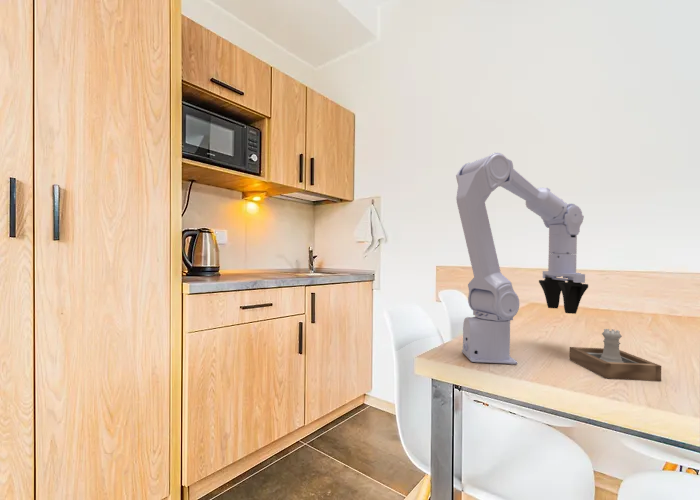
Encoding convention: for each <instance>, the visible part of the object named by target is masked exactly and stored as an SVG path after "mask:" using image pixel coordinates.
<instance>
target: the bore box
mask: <svg viewBox="0 0 700 500" xmlns="http://www.w3.org/2000/svg"><path fill="white" fill-rule="evenodd" d="M603 350H604V347H603V348H601V347H583V346H582V347H581V346H579V347H578V346H569V353H568V354H569V355H568V356H569V359H568V360H570V361H572V362H573V363H575V364H577V365H579V366H581V367H583V368H584V369H587V370H588V371H590V372H593V373H594V374H596V375H598V376H600V377H602V378H604V379H614V380H633V381H634V380H635V381H652V382H653V381H656V382H662V365H660V364H658V363H655V362H652V361H650V360H647V359H645V358H641V357H639V356H636V355H634V354H632V353H629V352H626V351H623V350H621V349H619V351H620V356H621V358H622V361H623V362H624V363H620V362H606V361H604V360H602V359H599V358H601V355H602V354H603Z"/></svg>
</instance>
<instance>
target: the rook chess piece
mask: <svg viewBox="0 0 700 500" xmlns="http://www.w3.org/2000/svg"><path fill="white" fill-rule="evenodd" d="M620 332H621V331H620V330H618V329H616V330H615V329H614V328H613V329H612V328H611V330H610V329H609V328H604V329H603V331H602V333H601V335H602V336H603V338H604V340H603V344H604V345H603V348H604V350H603V354H602V355H601V358H599V359H602V360H604V361H606V362H620V363H624V362H623V361H622V358H621V356H620V351H619V350H620V345H621V342H620V339H621V338H622V335H621V333H620Z"/></svg>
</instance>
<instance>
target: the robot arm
mask: <svg viewBox="0 0 700 500" xmlns="http://www.w3.org/2000/svg"><path fill="white" fill-rule="evenodd" d="M455 177H456V178H455V179H456V182H457V191H456V197H455V199H456V204H457V209H458V213H459V217H460V222H461V226H462V230H463V235H464V240H465V244H466V247H467V248H466V249H467V252H468V255H469V260H470V265H471V269H472V273H473V278H472V279H471V280H470V281H469V282H468V283H467V287H468V296H467V303H468V306H469V308H470V309H471V311H472V315H473V316H471V317H469V316H467V317H465V318H464V320H463V323H462V324H463V325H462V349H461V352H462V353H463V354H464V356H465V357H466V358H467V359H468V360H469V361H470V362H471V363H472V362H473V363H484V364H485V363H491V364H510V365H511V364H512V365H517V364H518V361H517V360H515V359H514V358H513V357H511V355H510V353H511V351H510V349H511V321H514V317H515V316H516V315H517V314H518V312H519V310H520V299H519V296H518V294H517V293H516V292H515V290H514V287H513V283H512V282H511V281H510V279H509V278H507V277H506V276H505V275H504V274H502V272H501V268H500V267H501V266H500V264H499V259H498V254H497V251H496V245H495V241H494V237H493V232H492V228H491V224H490V220H489V215H488V210H487V207H486V202H487V200H488V199H489V197H490V195H491V194H492V192H493V191H495V190H497V188H499V187H501V188H503V189H504V190H507V191H508V192H510V193H512V194H513V195H515V196H517V197H519V198H520V199H523V200H524V201H525V207H526V208H527V209H529V210H530V211H531V212H533V214H536V215H537V216H539V218H541V220H542V222H543V224H544V226H545V227H546V228H548V259H547V260H548V265H547V266H548V267H547V270H542V279H539V280H538V283H539V285H540V287H541V289H542V291H543V295H544V296H545V300H546V301H545V302H546V305H547V308H548V309H559V305H560V299H561V295H562V300H563V310H564V313H565V314H574V315H577V312H578V308H579V305H580V303H581V300H582V297H583V296H584V294H585V293H586V290H588V289H589V284H588V283H587V284H586V274H585V273H582V272H577V254H578V253H577V251H578V250H577V246H578V245H577V244H578V235H579V234H580V228H581V225H582V224H583V222H584V221H583V220H584V215H583V211H582V209H581V207H580V206H578V205H577V204H575V203H567V202H565V201H564V200H563V199H562V198H560V197H559V196H557V195H556V194H555V193H553V192H552V191H551V189H550V188H548V187H538V188H537V187H536V186H534V184H532V182H530V181H529V180H527V179H526V178H525V177H524V176H523V175H522V174H520V172H518V171H517V170H516V169H515V168H514V164H513V161H512V160H511V159H509V158H507V157H506V156H505V155H504V154H503V153H501V152H494V153H490V154H489V155H488V156H484V157H483V158H482V157H481V158H479V159H476V160H474V161H472V162H468V163H465V164H463V165H462V167H461V168H460V169H459V170H458V172H457V173H456V175H455Z"/></svg>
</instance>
